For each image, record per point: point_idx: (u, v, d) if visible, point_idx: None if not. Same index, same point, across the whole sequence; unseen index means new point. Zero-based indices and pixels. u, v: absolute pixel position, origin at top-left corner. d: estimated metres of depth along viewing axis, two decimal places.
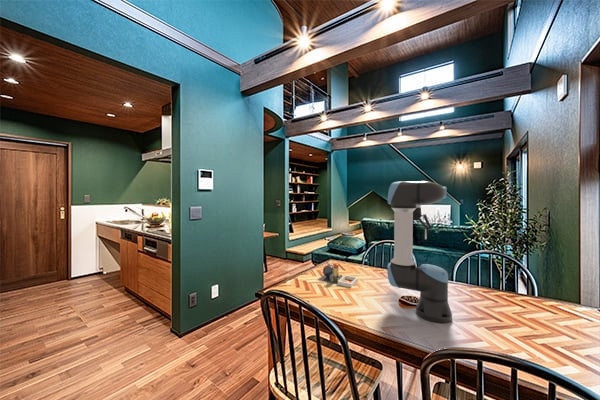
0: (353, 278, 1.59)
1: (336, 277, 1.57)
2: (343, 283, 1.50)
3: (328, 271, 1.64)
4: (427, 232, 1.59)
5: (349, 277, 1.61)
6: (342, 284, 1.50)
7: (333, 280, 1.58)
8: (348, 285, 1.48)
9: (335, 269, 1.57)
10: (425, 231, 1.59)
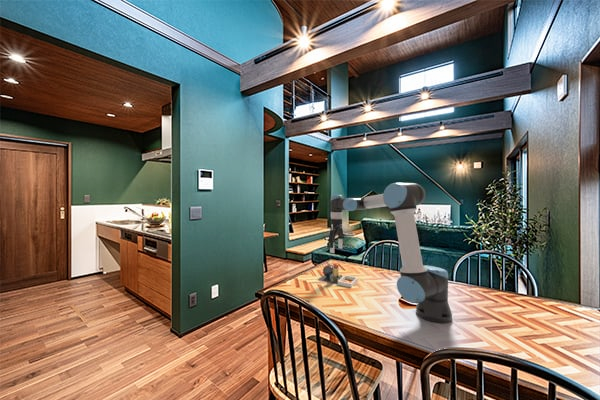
0: (353, 278, 1.59)
1: (336, 277, 1.57)
2: (343, 283, 1.50)
3: (328, 271, 1.64)
4: None
5: (349, 277, 1.61)
6: (342, 284, 1.50)
7: (333, 280, 1.58)
8: (348, 285, 1.48)
9: (335, 269, 1.57)
10: (330, 244, 1.53)
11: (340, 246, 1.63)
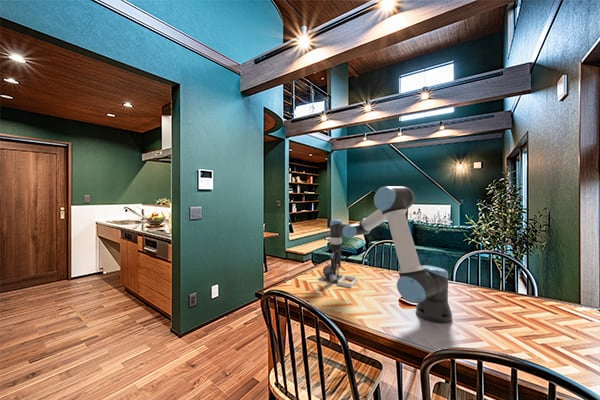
0: (353, 278, 1.59)
1: None
2: (343, 283, 1.50)
3: (328, 271, 1.64)
4: (333, 272, 1.56)
5: (349, 277, 1.61)
6: (342, 284, 1.50)
7: (333, 280, 1.58)
8: (348, 285, 1.48)
9: None
10: None
11: None
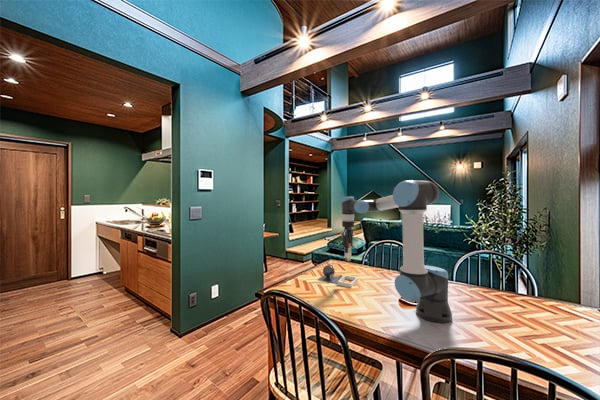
0: (353, 278, 1.59)
1: None
2: (343, 283, 1.50)
3: (328, 271, 1.64)
4: (345, 250, 1.52)
5: (349, 277, 1.61)
6: (342, 284, 1.50)
7: (345, 259, 1.54)
8: (348, 285, 1.48)
9: None
10: None
11: None
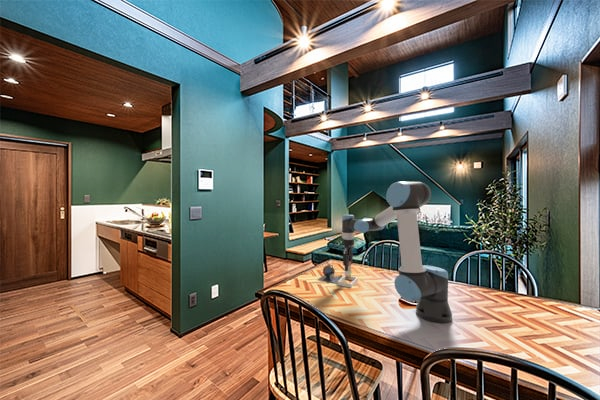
0: (353, 278, 1.59)
1: None
2: (343, 283, 1.50)
3: (328, 271, 1.64)
4: (345, 268, 1.53)
5: None
6: (342, 284, 1.50)
7: (345, 277, 1.55)
8: (348, 285, 1.48)
9: None
10: None
11: None
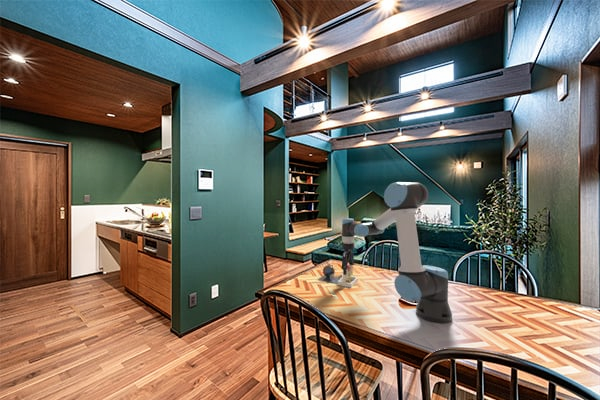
0: (353, 278, 1.59)
1: (348, 279, 1.53)
2: (343, 283, 1.50)
3: (328, 271, 1.64)
4: None
5: None
6: (342, 284, 1.50)
7: None
8: (348, 285, 1.48)
9: None
10: (343, 270, 1.51)
11: None
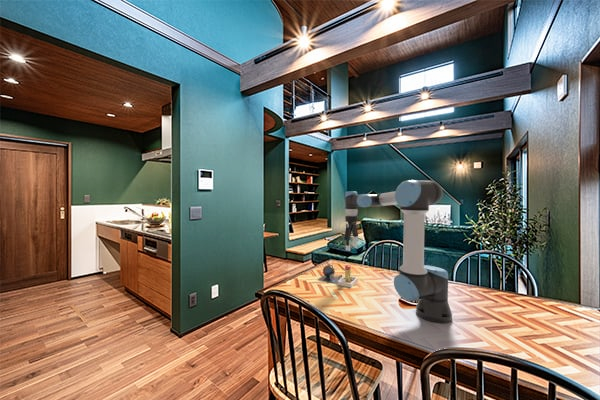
0: (353, 278, 1.59)
1: (348, 279, 1.53)
2: (343, 283, 1.50)
3: (328, 271, 1.64)
4: (346, 243, 1.48)
5: None
6: (342, 284, 1.50)
7: None
8: (348, 285, 1.48)
9: (347, 271, 1.53)
10: None
11: (354, 244, 1.60)
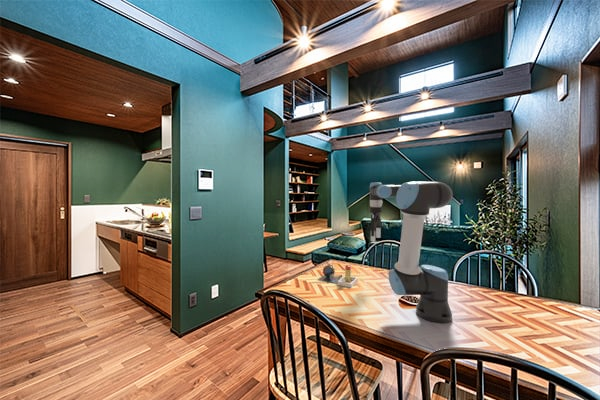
0: (353, 278, 1.59)
1: (348, 279, 1.53)
2: (343, 283, 1.50)
3: (328, 271, 1.64)
4: None
5: None
6: (342, 284, 1.50)
7: None
8: (348, 285, 1.48)
9: (347, 271, 1.53)
10: None
11: (378, 235, 1.60)
